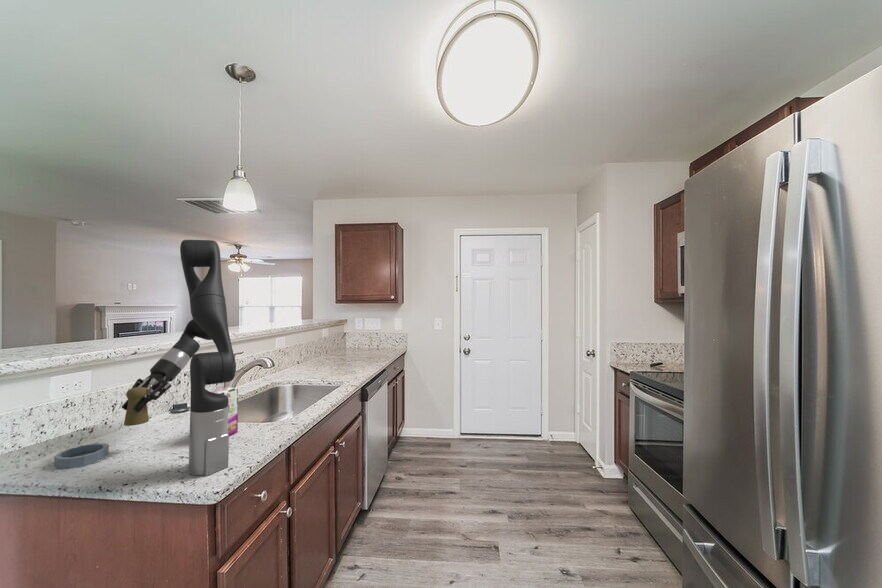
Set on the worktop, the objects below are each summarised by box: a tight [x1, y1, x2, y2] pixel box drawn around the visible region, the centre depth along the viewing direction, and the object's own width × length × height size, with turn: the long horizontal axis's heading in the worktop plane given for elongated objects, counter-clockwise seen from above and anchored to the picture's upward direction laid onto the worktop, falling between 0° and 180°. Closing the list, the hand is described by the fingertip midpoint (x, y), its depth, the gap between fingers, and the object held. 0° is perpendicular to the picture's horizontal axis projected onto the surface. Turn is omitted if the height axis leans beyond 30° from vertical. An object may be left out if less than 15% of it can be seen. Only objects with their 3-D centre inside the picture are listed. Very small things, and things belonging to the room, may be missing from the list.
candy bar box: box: [212, 386, 239, 437], centre depth 123 cm, size 11×5×16 cm, turn 171°
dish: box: [53, 442, 110, 470], centre depth 104 cm, size 11×11×3 cm
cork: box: [123, 387, 150, 427], centre depth 111 cm, size 6×6×11 cm
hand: (130, 409), depth 109 cm, fingers closed on cork, 4 cm apart
